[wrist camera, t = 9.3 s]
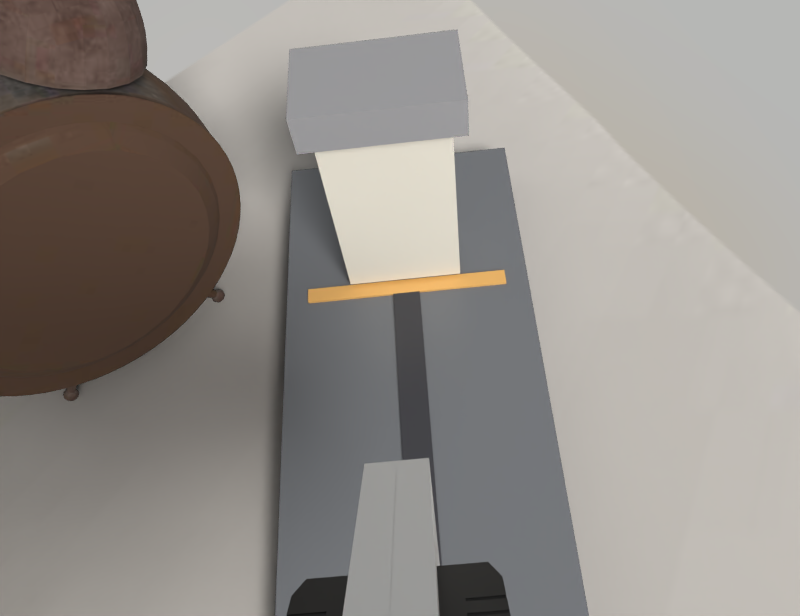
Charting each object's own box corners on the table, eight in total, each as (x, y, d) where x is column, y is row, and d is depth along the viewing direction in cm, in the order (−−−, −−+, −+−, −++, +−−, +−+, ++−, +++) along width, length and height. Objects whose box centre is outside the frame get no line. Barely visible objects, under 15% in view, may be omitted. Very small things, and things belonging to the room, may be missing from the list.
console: (283, 760, 25) (268, 758, 24) (300, 196, 40) (291, 169, 38) (602, 739, 25) (611, 737, 23) (503, 174, 39) (504, 145, 37)
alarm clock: (214, 203, 40) (18, -211, 23) (288, 283, 37) (120, -135, 20) (-35, 360, 36) (-490, -2, 19) (22, 467, 33) (-472, 139, 16)
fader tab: (339, 296, 33) (286, 120, 24) (339, 233, 35) (289, 49, 26) (472, 283, 33) (467, 99, 24) (464, 221, 35) (457, 29, 26)
